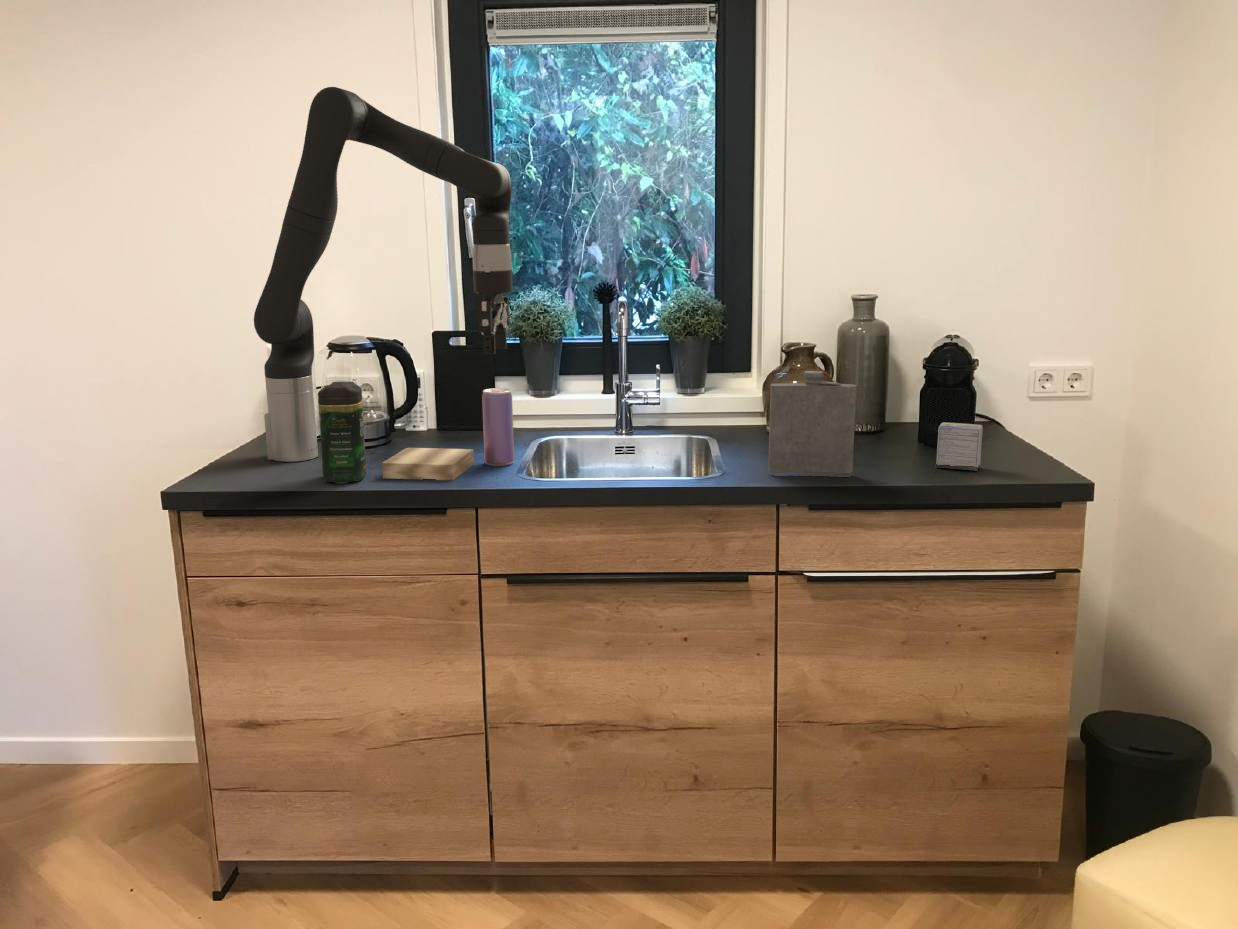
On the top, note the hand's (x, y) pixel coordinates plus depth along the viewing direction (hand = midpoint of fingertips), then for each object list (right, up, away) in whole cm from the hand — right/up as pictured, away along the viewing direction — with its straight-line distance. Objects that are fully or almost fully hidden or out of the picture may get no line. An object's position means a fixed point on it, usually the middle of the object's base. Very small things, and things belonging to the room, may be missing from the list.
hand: (495, 351), depth 202 cm
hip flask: (+61, -25, -6) cm, 66 cm away
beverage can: (0, -22, +5) cm, 23 cm away
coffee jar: (-28, -25, -6) cm, 38 cm away
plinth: (-13, -24, -1) cm, 27 cm away
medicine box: (+91, -23, -1) cm, 94 cm away
